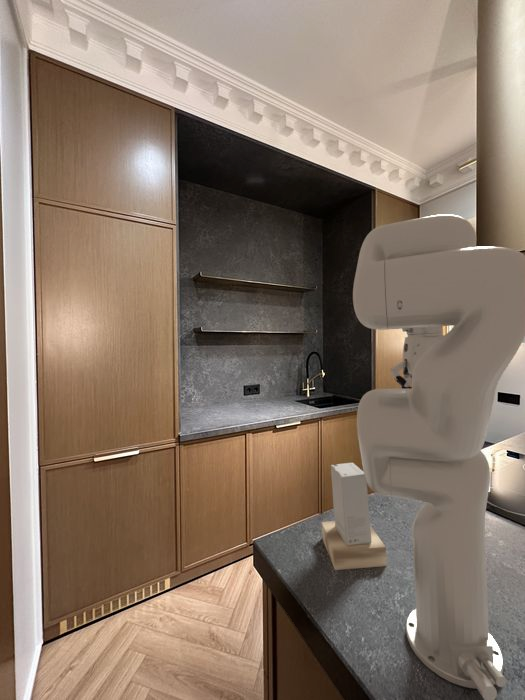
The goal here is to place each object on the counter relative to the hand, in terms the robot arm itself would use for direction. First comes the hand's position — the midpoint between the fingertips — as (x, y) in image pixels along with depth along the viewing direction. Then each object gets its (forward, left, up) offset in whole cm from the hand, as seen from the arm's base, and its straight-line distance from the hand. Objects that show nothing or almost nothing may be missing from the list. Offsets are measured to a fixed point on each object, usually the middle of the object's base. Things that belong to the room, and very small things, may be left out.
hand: (427, 402), depth 74 cm
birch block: (-3, +21, -33) cm, 39 cm away
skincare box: (-3, +21, -29) cm, 35 cm away
